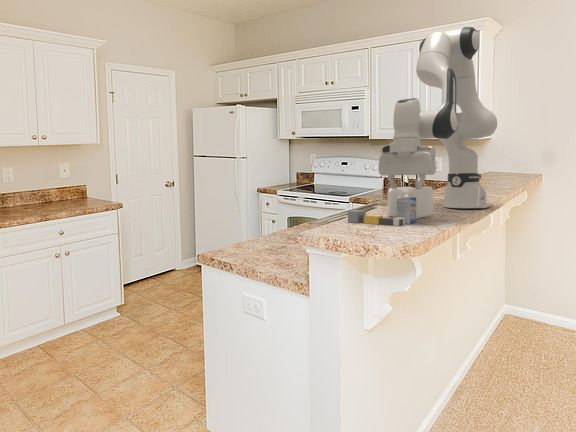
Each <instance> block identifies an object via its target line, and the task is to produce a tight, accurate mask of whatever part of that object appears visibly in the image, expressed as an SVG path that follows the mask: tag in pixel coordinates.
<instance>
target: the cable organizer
mask: <svg viewBox="0 0 576 432" xmlns="http://www.w3.org/2000/svg"><path fill="white" fill-rule="evenodd" d="M415 187H416V186H415ZM415 187H413V186H401V187H398V186H397V189H391V187H390V188H388V190H387V215H388V216H389V217H390V218H397V199H399V198H404V197H416V220H417V219H420V218H426V217H431V216H432V215H433V214H434V189H433V187H432V186H422V189H416V188H415Z"/></svg>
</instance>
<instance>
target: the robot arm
mask: <svg viewBox="0 0 576 432" xmlns="http://www.w3.org/2000/svg"><path fill="white" fill-rule="evenodd" d="M479 36H480V35H479V32H478V30H477V29H475V27H472V26H464V27H462V28H454V29H448V30H446V31H434V32H431V33H429V34H428V35H427V37H425V38H423V39H422V41H421V42H420V44H419V55H418V57H417V62H416V66H415V67H416V69H415V70H416V76H417V77H418V79H419V80H420V81H421V82H422V83H423V84H425V85H426V86H429V87H433V88H438V89H441V106H440V107H438V108H435V109H428V110H427V109H425V110H422V109H421V104H420V100H419V99H418V98H416V97H413V98H405V99H404V98H403V99H399V100H397V101H396V103H395V105H394V109H393V110H394V111H393V119H392V120H393V121H392V123H393V124H392V125H393V130H394V133H393V137H392V138H393V139H392V140H393V141H392V142H389V144H385V145H384V146H381V147H380V148H379V149H380V150H379V153H380V154H381V155H380V156H379V158H378V173H379V175H380V176H387V179H388V181H389V183H390V188H391V189H397V188H398V183H396V182H395V180H394V179H395V177H396V176H411V175H412V176H418V177H417V178H418V179H419V180H418V181H417V183H415V184H414V185H415V188H416V189H422V187H423V183H424V182H425V180H426V176H431V175H432V176H434V175H435V174H436V173H437V163H436V150H435V148H434V147H433V146H430V145H426V146H421V139H422V140H427V139H429V140H430V139H437V140H439V141H440V142H441V143H442V144H443V146H444V147H445V149H446V152H447V156H448V173H447V177H446V178H447V182H448V184H446V186H445V188H444V196H443V203H441V205H440V206H441V207H443V208H449V209H450V208H451V209H486V208H489V207H492V206H493V203H489V202H487V192H486V191H485V189H484V187H483V186H482V184H481V183H480V181H481V179H482V177H483V176H482V174H481V173H478V168H479V167H478V165H479V164H478V162H479V159H478V157H479V156H478V154H477V152H476V151H475V150H473V149H472V148H469V147H467V146H466V142H465V140H471V139H473V140H474V139H475V140H476V139H482V138H486V137H490V136H492V135H493V134H495V131H496V130H497V128H498V119H497V116H496V115H495V113H494V112H493V111H491V110H489V109H488V108H486V106H484V105H483V103H482V102H481V100H480V98H479V96H478V93H477V85H476V75H475V66H474V61H473V57H474V56H475V55H476V54H477V52H478V50H479V47H480V37H479ZM457 106H458V107H459V108H460V110H461V112H457Z"/></svg>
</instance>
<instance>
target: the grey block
mask: <svg viewBox="0 0 576 432" xmlns="http://www.w3.org/2000/svg"><path fill="white" fill-rule="evenodd" d="M365 215H367V212H366V210H364V209H363V210H361V209H355V210H348V211H347V223H351V224H361V223H360V222H361V217H364V216H365Z"/></svg>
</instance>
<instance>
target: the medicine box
mask: <svg viewBox="0 0 576 432" xmlns="http://www.w3.org/2000/svg"><path fill="white" fill-rule="evenodd" d="M398 217H404V225H412V224H415V223H417V219H416V197H404V198H399V199H397V217H396V218H398Z"/></svg>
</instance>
